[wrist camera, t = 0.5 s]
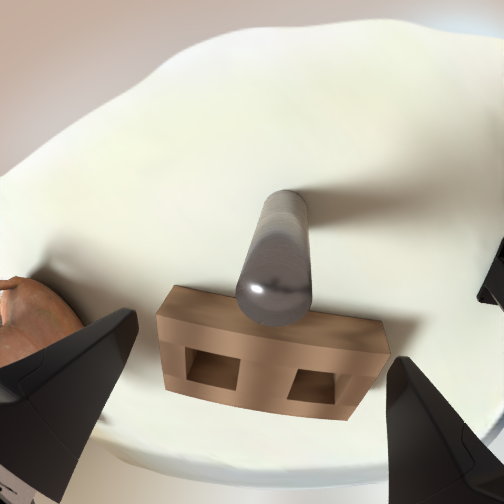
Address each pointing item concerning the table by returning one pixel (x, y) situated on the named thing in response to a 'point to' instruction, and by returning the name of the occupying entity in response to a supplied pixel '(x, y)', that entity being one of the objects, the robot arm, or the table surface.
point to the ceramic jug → (32, 318)
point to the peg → (278, 264)
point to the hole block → (267, 357)
